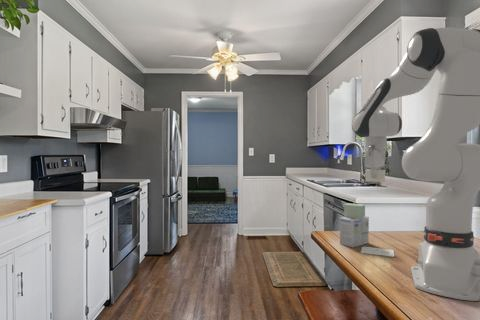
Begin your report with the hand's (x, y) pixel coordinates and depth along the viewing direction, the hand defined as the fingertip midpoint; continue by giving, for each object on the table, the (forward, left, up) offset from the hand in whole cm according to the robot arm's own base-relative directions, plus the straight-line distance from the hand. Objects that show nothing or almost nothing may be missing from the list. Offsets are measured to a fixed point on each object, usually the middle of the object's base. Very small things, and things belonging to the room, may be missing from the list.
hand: (375, 177), depth 134 cm
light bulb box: (-14, +5, -26) cm, 30 cm away
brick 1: (-14, +5, -15) cm, 21 cm away
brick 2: (0, 0, -2) cm, 2 cm away
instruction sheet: (-20, -5, -26) cm, 33 cm away
